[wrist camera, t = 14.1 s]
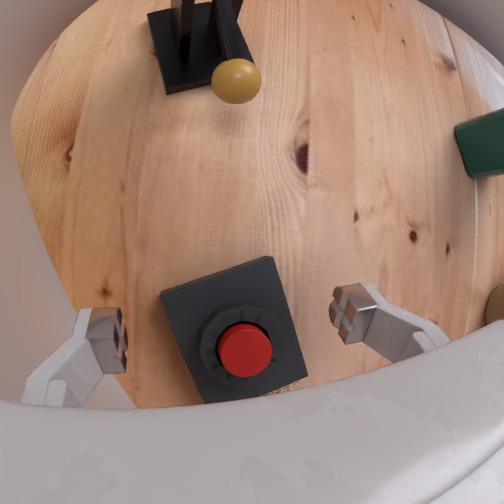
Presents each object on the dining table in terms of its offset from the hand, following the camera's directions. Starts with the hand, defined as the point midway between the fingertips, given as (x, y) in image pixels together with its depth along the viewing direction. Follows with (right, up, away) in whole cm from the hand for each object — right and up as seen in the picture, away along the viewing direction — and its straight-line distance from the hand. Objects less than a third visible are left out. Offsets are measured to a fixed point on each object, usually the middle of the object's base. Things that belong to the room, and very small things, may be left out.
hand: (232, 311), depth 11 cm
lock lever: (-2, +20, +7) cm, 21 cm away
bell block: (-1, -5, +17) cm, 17 cm away
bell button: (0, -6, +13) cm, 14 cm away
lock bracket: (-5, +24, +15) cm, 28 cm away
